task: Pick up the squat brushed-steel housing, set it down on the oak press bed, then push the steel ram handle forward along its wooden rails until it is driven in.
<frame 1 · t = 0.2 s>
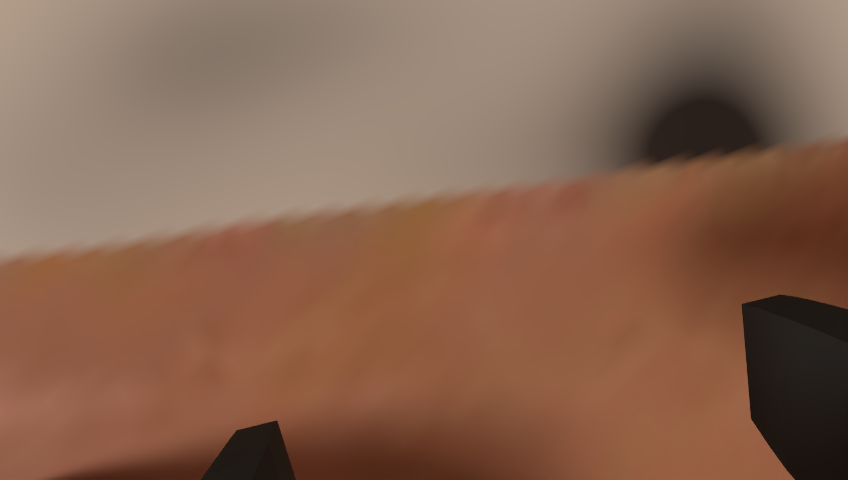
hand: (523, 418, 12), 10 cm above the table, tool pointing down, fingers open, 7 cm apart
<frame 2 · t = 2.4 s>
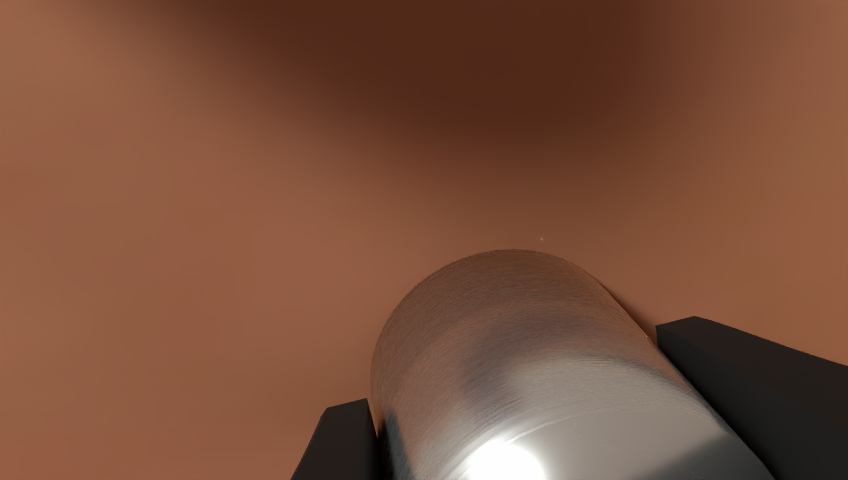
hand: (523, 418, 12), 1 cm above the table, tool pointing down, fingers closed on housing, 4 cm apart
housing: (502, 374, 14), on the table, touching gripper
when the fingers open (4 cm above the table, at t = 5.2 s): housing stays where it is, resting on press frame.
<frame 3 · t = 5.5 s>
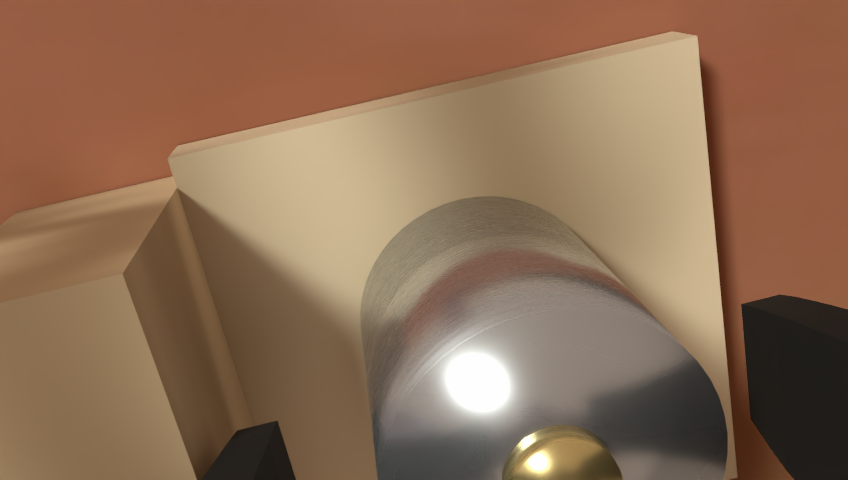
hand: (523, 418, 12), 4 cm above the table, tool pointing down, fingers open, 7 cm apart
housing: (481, 313, 15), point 1 cm above the table, touching press frame
press frame: (475, 314, 16), on the table
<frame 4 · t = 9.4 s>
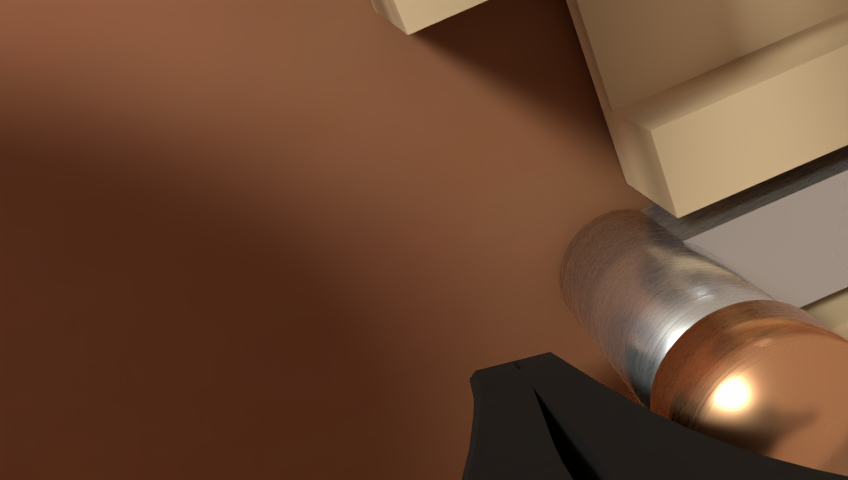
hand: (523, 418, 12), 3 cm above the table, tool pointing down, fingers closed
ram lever: (835, 276, 12), point 3 cm above the table, slide at 0.9 cm, touching gripper
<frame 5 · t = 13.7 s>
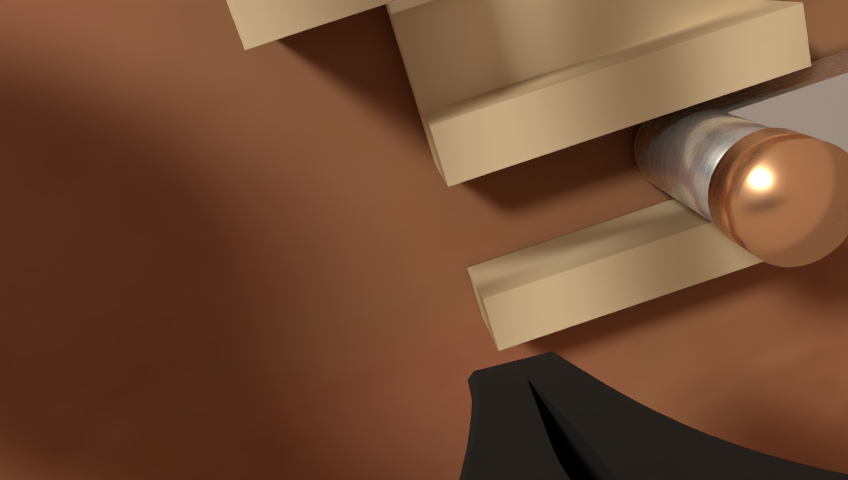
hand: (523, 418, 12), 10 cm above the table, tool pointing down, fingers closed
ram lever: (826, 138, 19), point 3 cm above the table, slide at 7.8 cm
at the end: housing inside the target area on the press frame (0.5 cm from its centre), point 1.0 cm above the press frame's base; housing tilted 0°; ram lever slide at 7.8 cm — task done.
